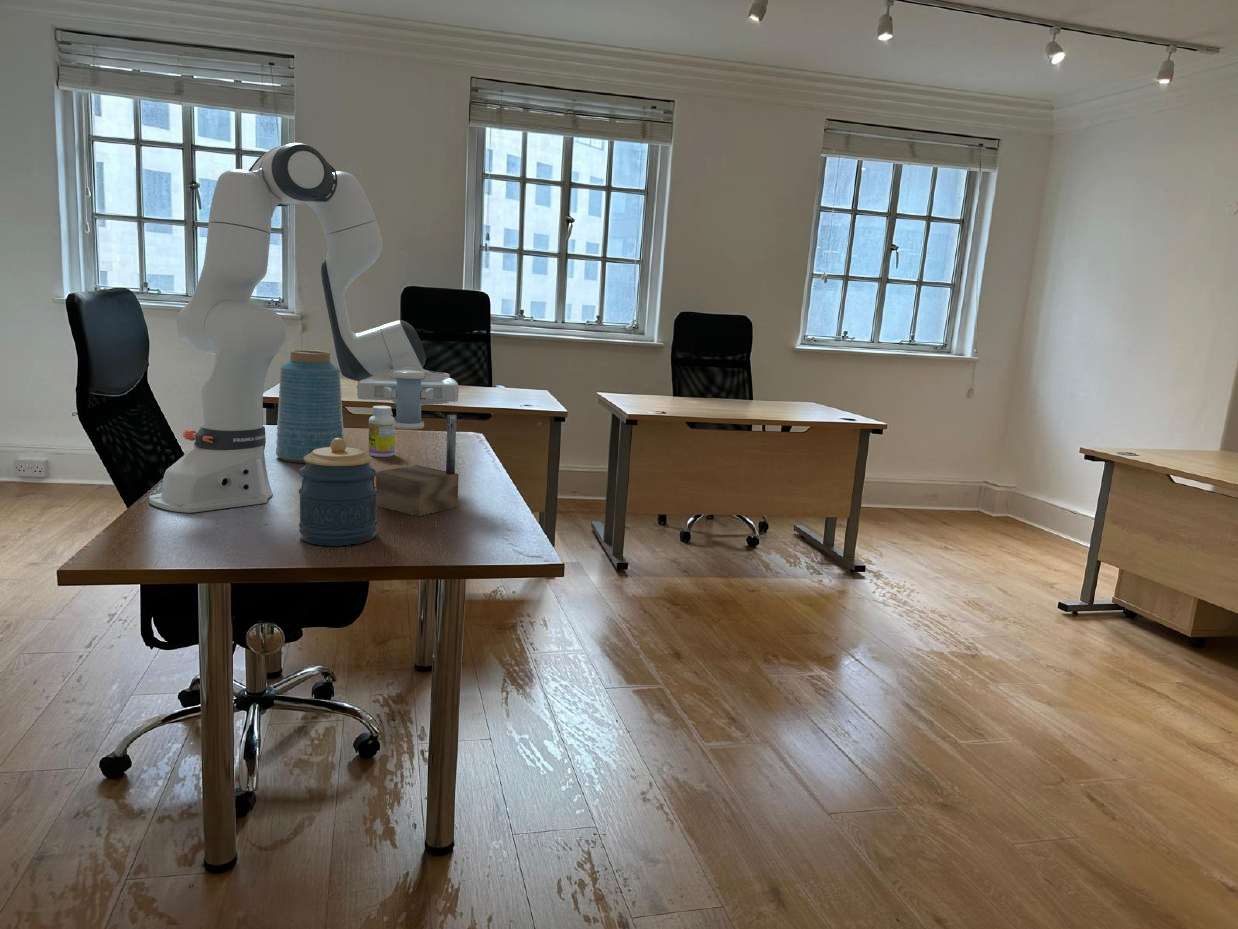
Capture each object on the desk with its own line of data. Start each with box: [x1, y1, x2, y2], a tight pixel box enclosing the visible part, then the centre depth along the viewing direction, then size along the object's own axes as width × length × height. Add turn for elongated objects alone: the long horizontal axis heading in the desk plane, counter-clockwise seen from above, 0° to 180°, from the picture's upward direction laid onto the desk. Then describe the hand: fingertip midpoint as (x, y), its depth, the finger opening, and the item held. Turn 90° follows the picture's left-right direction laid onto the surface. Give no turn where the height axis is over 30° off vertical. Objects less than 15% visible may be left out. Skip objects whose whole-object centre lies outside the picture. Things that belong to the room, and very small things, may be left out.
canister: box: [297, 438, 378, 547], centre depth 147 cm, size 13×13×18 cm
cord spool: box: [393, 370, 425, 430], centre depth 168 cm, size 6×6×11 cm
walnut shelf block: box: [375, 464, 460, 517], centre depth 172 cm, size 11×12×7 cm
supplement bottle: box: [368, 405, 396, 458], centre depth 221 cm, size 7×7×13 cm
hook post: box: [445, 414, 457, 475], centre depth 169 cm, size 2×6×12 cm, turn 14°
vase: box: [275, 349, 345, 464], centre depth 210 cm, size 16×16×27 cm
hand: (408, 395), depth 167 cm, fingers closed on cord spool, 5 cm apart
